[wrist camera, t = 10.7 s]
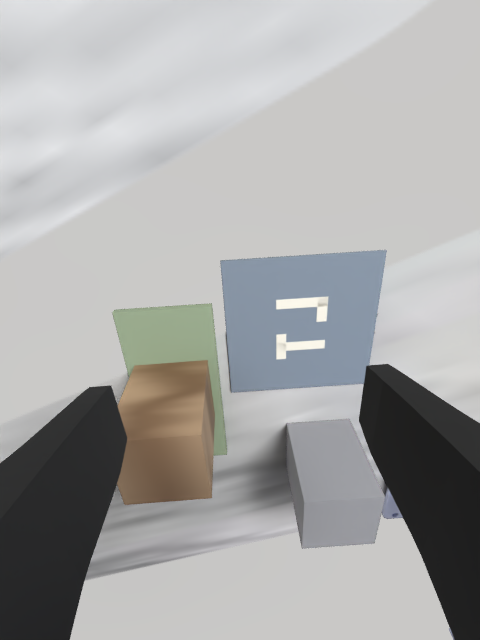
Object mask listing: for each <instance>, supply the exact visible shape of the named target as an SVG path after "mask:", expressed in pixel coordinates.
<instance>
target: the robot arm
mask: <svg viewBox="0 0 480 640" xmlns="http://www.w3.org/2000/svg"><path fill="white" fill-rule="evenodd" d="M359 422H360V424H361V427H362V430H363V433H364V436H365V439H366V442H367V444H368V447H369V450H370V452H371V455H372V457H373V459H374V461H375V463H376V465H377V467H378V469H379V471H380V473H381V475H382V477H383V479H384V481H385V483H386V485H387V492H386V496H385V500H384V505H383V509H382V515H383V517H384V518H387V519H391V518H403V519H404V520H405V522H406V524H407V526H408V528H409V530H410V532H411V534H412V536H413V539H414V541H415V543H416V545H417V547H418V549H419V552H420V554H421V556H422V558H423V561H424V563H425V566H426V568H427V570H428V573H429V576H430V578H431V581H432V583H433V586H434V588H435V591H436V593H437V596H438V598H439V601H440V603H441V605H442V608H443V611H444V614H445V616H446V619H447V622H448V624H449V627H450V628H449V631H450V633H451V635H452V637H453V640H480V423H478V422H477V421H475V420H473V419H472V418H470V417H469V416H467V415H465V414H464V413H462V412H461V411H459V410H457V409H456V408H454V407H453V406H451V405H450V404H448V403H447V402H445V401H444V400H442V399H441V398H439V397H438V396H436V395H434V394H433V393H431V392H430V391H428V390H427V389H426V388H424V387H423V386H421V385H420V384H418V383H417V382H415V381H414V380H412V379H411V378H409V377H408V376H406V375H405V374H403V373H402V372H400V371H398V370H397V369H395V368H394V367H392V366H390V365H389V364H383V365H370V366H366V372H365V380H364V387H363V394H362V402H361V409H360V416H359ZM126 443H127V435H126V432H125V429H124V426H123V422H122V419H121V416H120V413H119V409H118V406H117V403H116V400H115V397H114V393H113V390H112V387H111V386H100V387H89V388H88V389H87V390H85V391H84V392H83V393H82V394H81V395H79V396H78V397H77V398H76V399H75V400H74V401H73V402H71V403H70V404H69V405H68V406H67V407H66V408H65V409H63V410H62V411H61V412H60V413H59V414H58V415H57V416H56V417H54V418H53V419H52V420H51V421H50V422H49V423H48V424H46V425H45V426H44V427H43V428H42V429H41V430H40V431H38V432H37V433H36V434H35V435H34V436H33V437H32V438H30V439H29V440H28V441H27V442H26V443H25V444H24V445H22V446H21V447H20V448H19V449H17V450H16V451H15V452H14V453H13V454H11V455H10V456H9V457H8V458H6V459H5V460H4V461H3V462H1V463H0V640H70V635H71V631H72V627H73V623H74V619H75V615H76V611H77V607H78V603H79V599H80V595H81V591H82V587H83V584H84V580H85V577H86V574H87V570H88V567H89V564H90V561H91V558H92V555H93V552H94V549H95V546H96V543H97V540H98V537H99V534H100V531H101V529H102V526H103V523H104V520H105V517H106V514H107V511H108V508H109V505H110V503H111V500H112V497H113V494H114V491H115V488H116V485H117V482H118V479H119V475H120V472H121V467H122V463H123V459H124V454H125V448H126Z"/></svg>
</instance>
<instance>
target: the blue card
mask: <svg viewBox="0 0 480 640" xmlns="http://www.w3.org/2000/svg"><path fill="white" fill-rule="evenodd" d="M386 252H387V251H386V250H377V251H362V252H348V253H347V252H346V253H332V254H316V255H299V256H286V257H268V258H253V259H238V260H222V261H221V273H222V285H223V297H224V309H225V321H226V333H227V345H228V356H229V368H230V380H231V392H244V391H259V390H274V389H288V388H303V387H318V386H332V385H347V384H362V383H364V380H365V372H366V366H369V363H370V356H371V349H372V343H373V336H374V330H375V323H376V317H377V310H378V304H379V297H380V291H381V284H382V278H383V271H384V265H385V258H386Z"/></svg>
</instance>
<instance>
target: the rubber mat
mask: <svg viewBox="0 0 480 640" xmlns="http://www.w3.org/2000/svg"><path fill="white" fill-rule="evenodd" d="M113 317H114V321H115V325H116V328H117V333H118V337H119V340H120V344H121V348H122V352H123V356H124V359H125V364H126V367H127V371H128V375H129V378H130V375H131V373H132V370H133V368H134V366H135V365H148V364H162V363H175V362H188V361H201V360H208V366H209V374H210V381H211V389H212V396H213V404H214V411H215V427H214V452H213V456H214V455H227V445H226V436H225V426H224V416H223V406H222V397H221V387H220V377H219V368H218V358H217V348H216V338H215V329H214V319H213V309H212V304H196V305H181V306H165V307H150V308H135V309H120V310H114V311H113Z"/></svg>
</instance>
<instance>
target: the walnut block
mask: <svg viewBox="0 0 480 640" xmlns="http://www.w3.org/2000/svg"><path fill="white" fill-rule="evenodd" d="M118 409H119V413H120V416H121V419H122V422H123V426H124V429H125V432H126V435H127V443H126V448H125V454H124V459H123V463H122V467H121V472H120V475H119V479H118V482H117V485H118V488H119V491H120V493H121V496H122V499H123V502H124V504H125V505H129V504H142V503H155V502H168V501H180V500H193V499H206V498H212V477H213V452H214V427H215V411H214V404H213V396H212V389H211V381H210V374H209V366H208V360H201V361H188V362H175V363H162V364H148V365H135V366H134V368H133V370H132V373H131V375H130V378H129V380H128V382H127V385H126V387H125V390H124V392H123V394H122V397H121V399H120V401H119V404H118Z"/></svg>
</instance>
